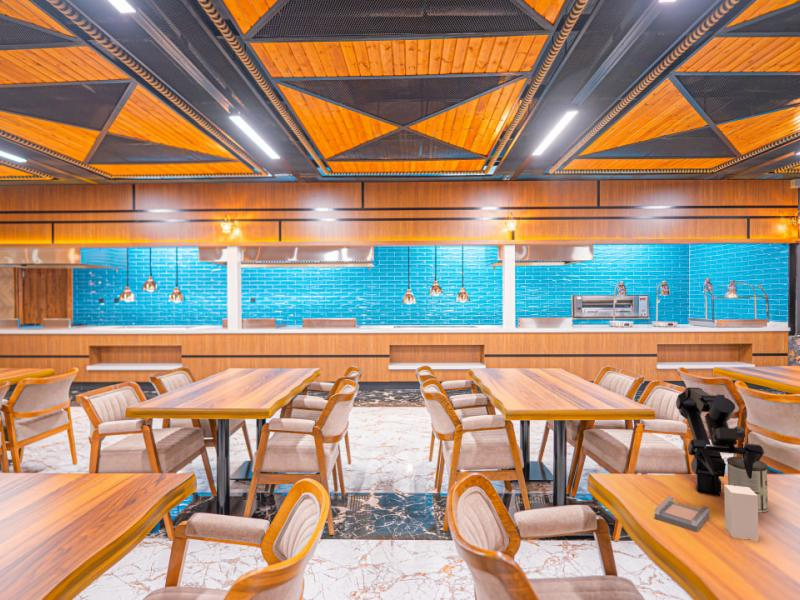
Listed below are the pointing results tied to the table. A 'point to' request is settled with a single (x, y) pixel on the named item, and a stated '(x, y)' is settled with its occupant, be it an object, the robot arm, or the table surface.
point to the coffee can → (756, 483)
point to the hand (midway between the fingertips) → (731, 476)
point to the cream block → (741, 512)
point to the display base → (681, 514)
